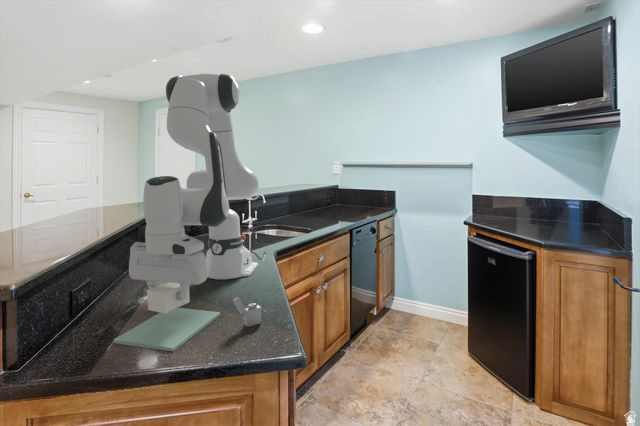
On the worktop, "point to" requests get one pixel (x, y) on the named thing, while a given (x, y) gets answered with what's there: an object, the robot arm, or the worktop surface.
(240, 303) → the lighter
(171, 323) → the mat
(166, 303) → the card box
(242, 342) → the worktop surface
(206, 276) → the robot arm
